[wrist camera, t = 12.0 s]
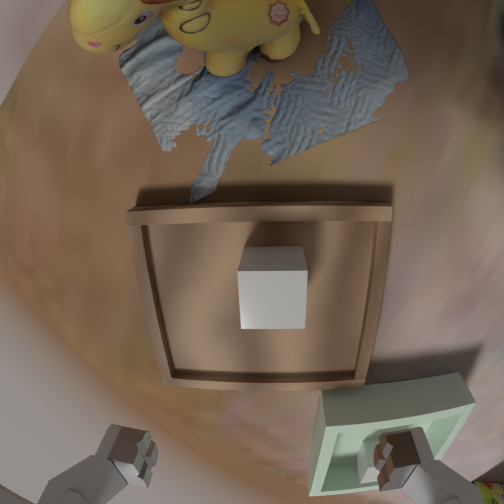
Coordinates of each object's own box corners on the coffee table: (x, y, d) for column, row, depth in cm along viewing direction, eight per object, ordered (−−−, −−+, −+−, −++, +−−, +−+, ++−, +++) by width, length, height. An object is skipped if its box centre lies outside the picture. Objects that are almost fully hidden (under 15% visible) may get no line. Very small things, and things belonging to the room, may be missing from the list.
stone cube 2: (302, 246, 22) (307, 270, 18) (300, 297, 23) (304, 328, 19) (243, 246, 22) (237, 271, 18) (246, 297, 24) (241, 328, 20)
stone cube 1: (395, 435, 29) (402, 462, 25) (386, 453, 31) (392, 478, 27) (362, 440, 29) (368, 467, 26) (355, 457, 31) (360, 483, 27)
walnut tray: (385, 201, 21) (392, 206, 19) (360, 375, 27) (363, 386, 25) (135, 206, 22) (125, 211, 21) (167, 373, 28) (163, 384, 27)
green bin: (458, 371, 26) (476, 402, 22) (417, 451, 32) (426, 478, 27) (320, 387, 28) (325, 426, 23) (307, 465, 33) (309, 496, 29)
